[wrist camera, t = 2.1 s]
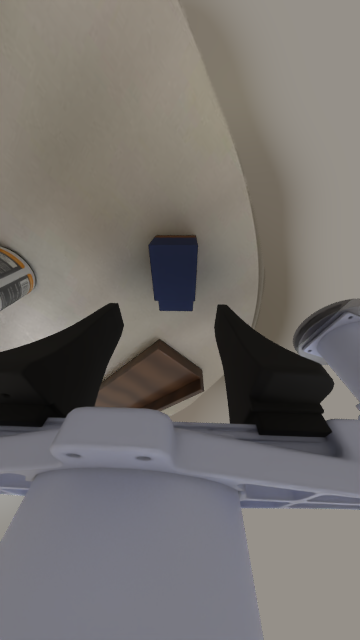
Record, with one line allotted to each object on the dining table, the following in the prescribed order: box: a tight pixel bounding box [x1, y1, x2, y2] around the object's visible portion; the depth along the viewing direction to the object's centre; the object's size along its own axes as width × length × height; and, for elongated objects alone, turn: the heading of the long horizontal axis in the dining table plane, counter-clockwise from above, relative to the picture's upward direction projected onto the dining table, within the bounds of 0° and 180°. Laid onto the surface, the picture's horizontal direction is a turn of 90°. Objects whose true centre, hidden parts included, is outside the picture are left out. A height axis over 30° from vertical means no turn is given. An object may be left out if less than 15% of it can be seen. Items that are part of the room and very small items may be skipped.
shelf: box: [95, 340, 204, 411], centre depth 34 cm, size 36×10×4 cm, turn 134°
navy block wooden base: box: [149, 235, 198, 311], centre depth 17 cm, size 8×4×4 cm, turn 0°
